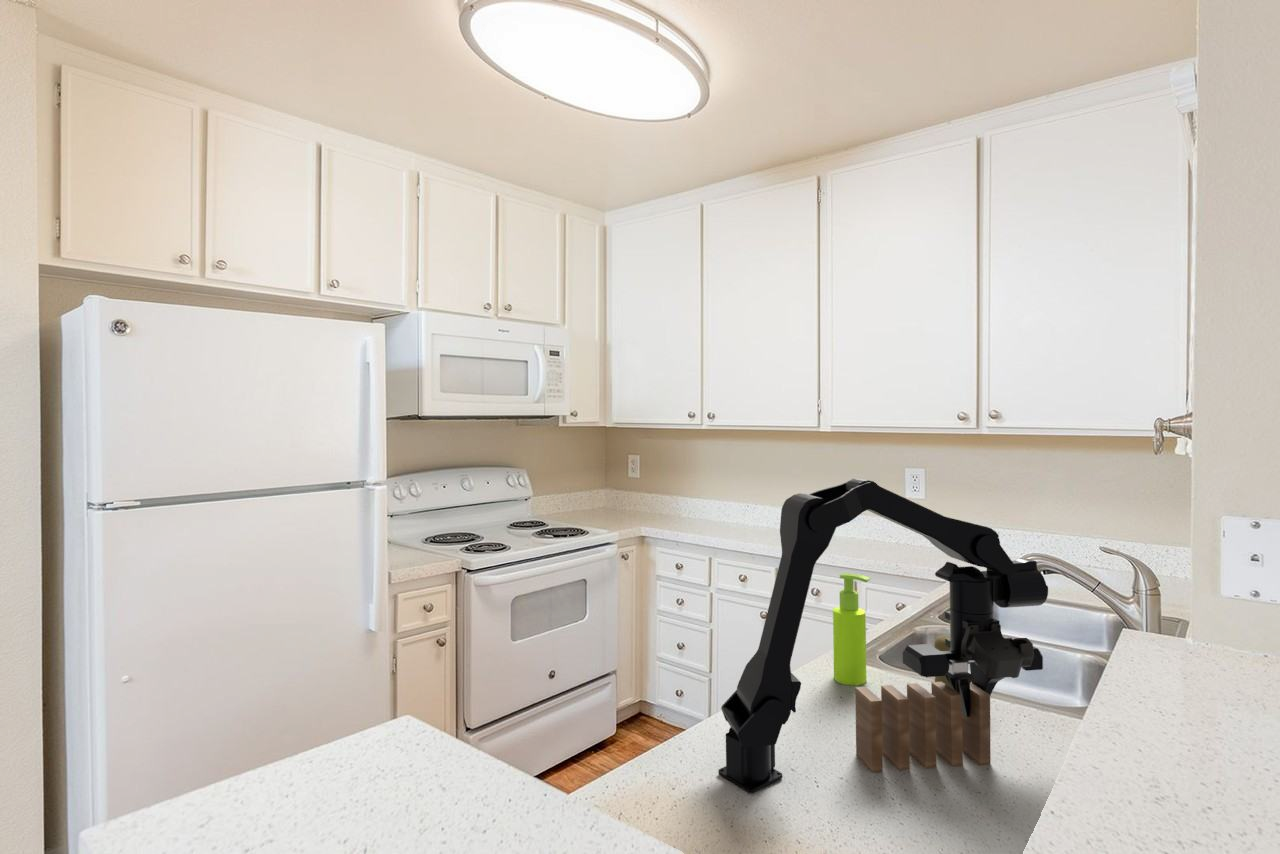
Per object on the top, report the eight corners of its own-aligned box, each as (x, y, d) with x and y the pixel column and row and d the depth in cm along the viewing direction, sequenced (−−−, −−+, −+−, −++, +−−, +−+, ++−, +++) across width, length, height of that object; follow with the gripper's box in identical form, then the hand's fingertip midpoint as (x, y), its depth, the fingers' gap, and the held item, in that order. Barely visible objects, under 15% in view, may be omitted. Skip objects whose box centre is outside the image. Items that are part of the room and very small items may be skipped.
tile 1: (871, 772, 93) (871, 701, 93) (856, 754, 98) (855, 687, 98) (882, 771, 94) (881, 700, 93) (866, 754, 98) (865, 686, 98)
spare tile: (980, 765, 95) (979, 695, 95) (959, 748, 100) (958, 681, 100) (990, 764, 95) (990, 694, 95) (969, 747, 100) (968, 681, 100)
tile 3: (925, 768, 94) (925, 697, 94) (907, 750, 99) (906, 683, 99) (936, 767, 94) (935, 697, 94) (917, 750, 99) (917, 683, 99)
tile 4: (952, 766, 95) (950, 695, 95) (932, 748, 100) (931, 682, 100) (962, 765, 95) (961, 695, 95) (943, 748, 100) (941, 681, 100)
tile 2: (899, 770, 94) (898, 699, 94) (882, 752, 99) (881, 685, 99) (909, 769, 94) (908, 698, 94) (892, 752, 99) (891, 684, 99)
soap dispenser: (865, 689, 122) (864, 580, 122) (829, 680, 126) (827, 575, 126) (876, 679, 127) (874, 573, 126) (840, 671, 131) (839, 569, 130)
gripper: (942, 629, 88) (944, 746, 89) (1071, 622, 91) (1072, 736, 91) (900, 606, 100) (901, 710, 100) (1016, 600, 102) (1017, 702, 102)
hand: (972, 715), depth 98 cm, fingers closed on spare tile, 2 cm apart
